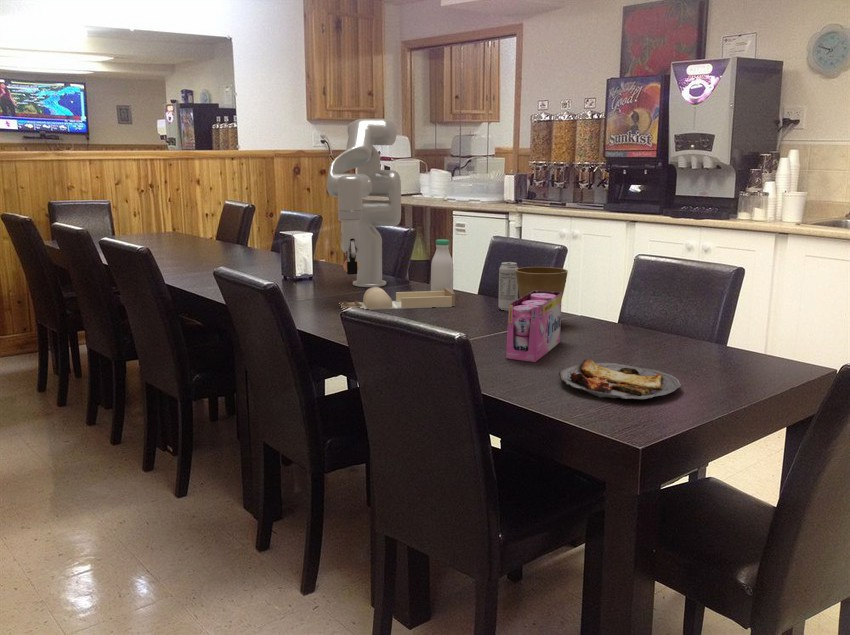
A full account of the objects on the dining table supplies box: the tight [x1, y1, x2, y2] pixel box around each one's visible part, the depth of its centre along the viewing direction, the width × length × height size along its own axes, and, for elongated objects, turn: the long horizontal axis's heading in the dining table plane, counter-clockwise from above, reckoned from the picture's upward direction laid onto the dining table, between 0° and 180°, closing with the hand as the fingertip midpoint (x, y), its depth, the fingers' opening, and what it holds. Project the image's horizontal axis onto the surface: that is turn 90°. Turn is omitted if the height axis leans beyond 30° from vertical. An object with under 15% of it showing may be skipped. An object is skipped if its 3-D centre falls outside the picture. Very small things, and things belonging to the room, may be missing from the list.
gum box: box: [505, 290, 563, 363], centre depth 193 cm, size 24×8×14 cm, turn 156°
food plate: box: [558, 358, 682, 400], centre depth 165 cm, size 25×23×4 cm
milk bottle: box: [430, 238, 454, 292], centre depth 263 cm, size 8×8×20 cm
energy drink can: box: [497, 261, 519, 312], centre depth 244 cm, size 6×6×15 cm
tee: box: [340, 300, 362, 308], centre depth 248 cm, size 7×7×1 cm
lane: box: [338, 287, 456, 311], centre depth 251 cm, size 11×36×8 cm, turn 102°
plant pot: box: [516, 266, 568, 299], centre depth 224 cm, size 15×15×16 cm
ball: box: [342, 258, 359, 273], centre depth 246 cm, size 5×5×5 cm
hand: (351, 272), depth 246 cm, fingers closed on ball, 4 cm apart
